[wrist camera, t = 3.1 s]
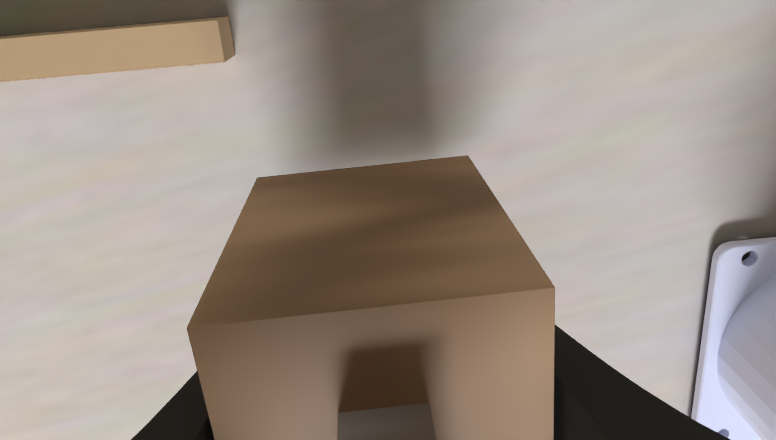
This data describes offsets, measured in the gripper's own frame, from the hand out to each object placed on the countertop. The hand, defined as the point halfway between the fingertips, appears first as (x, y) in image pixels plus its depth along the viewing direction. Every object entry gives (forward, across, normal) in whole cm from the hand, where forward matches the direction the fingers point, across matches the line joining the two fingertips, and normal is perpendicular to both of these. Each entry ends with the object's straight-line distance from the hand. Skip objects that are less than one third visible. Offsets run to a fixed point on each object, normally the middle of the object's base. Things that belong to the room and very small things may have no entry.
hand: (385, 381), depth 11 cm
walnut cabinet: (+3, 0, 0) cm, 4 cm away
